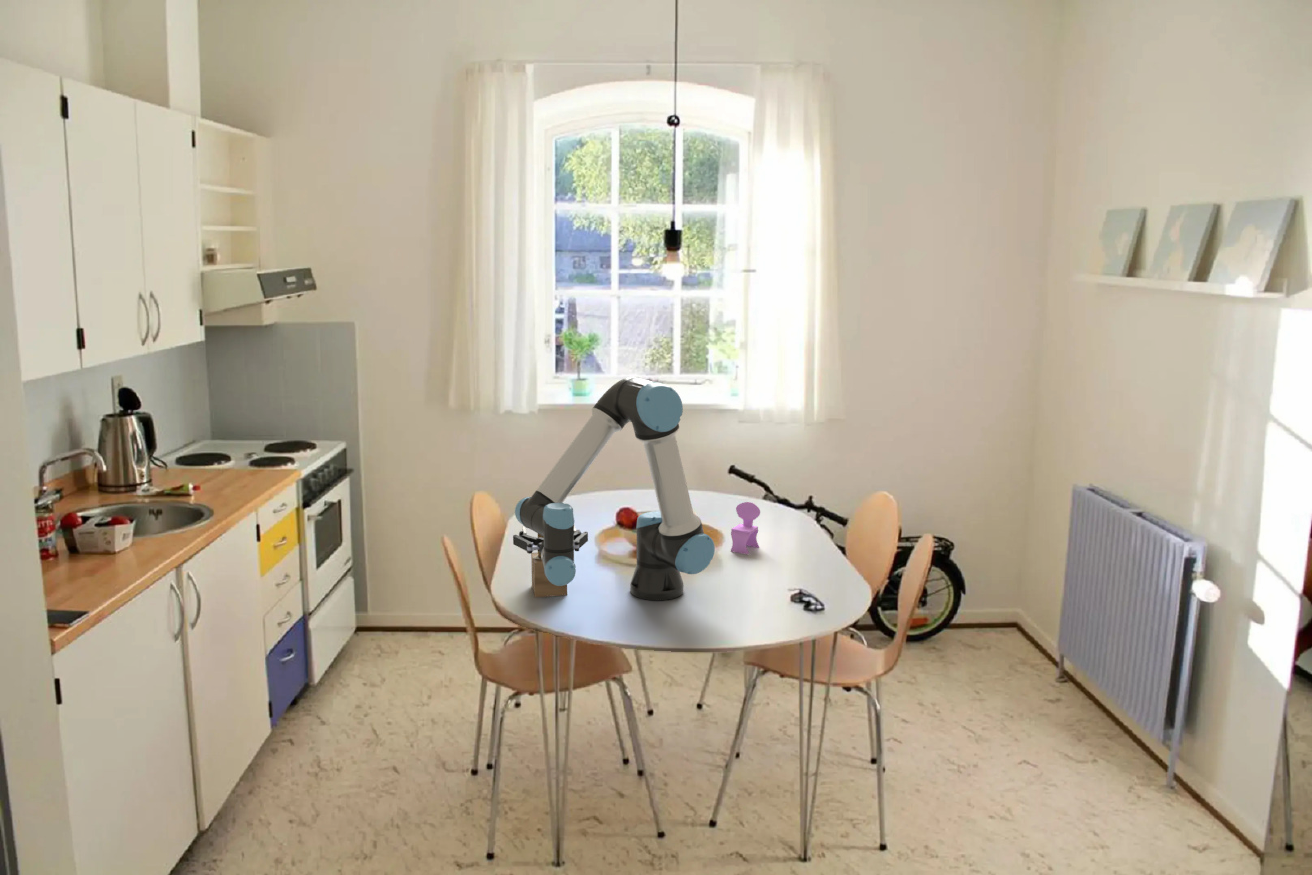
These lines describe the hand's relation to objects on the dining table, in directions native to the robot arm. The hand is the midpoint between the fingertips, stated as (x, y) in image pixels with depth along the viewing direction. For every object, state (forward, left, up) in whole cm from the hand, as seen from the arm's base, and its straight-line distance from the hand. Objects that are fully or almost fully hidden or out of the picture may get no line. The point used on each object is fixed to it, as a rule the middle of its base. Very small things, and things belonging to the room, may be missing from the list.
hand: (548, 529), depth 295 cm
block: (-2, -1, -19) cm, 19 cm away
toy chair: (-56, +43, -19) cm, 73 cm away
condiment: (-2, 0, -9) cm, 9 cm away
